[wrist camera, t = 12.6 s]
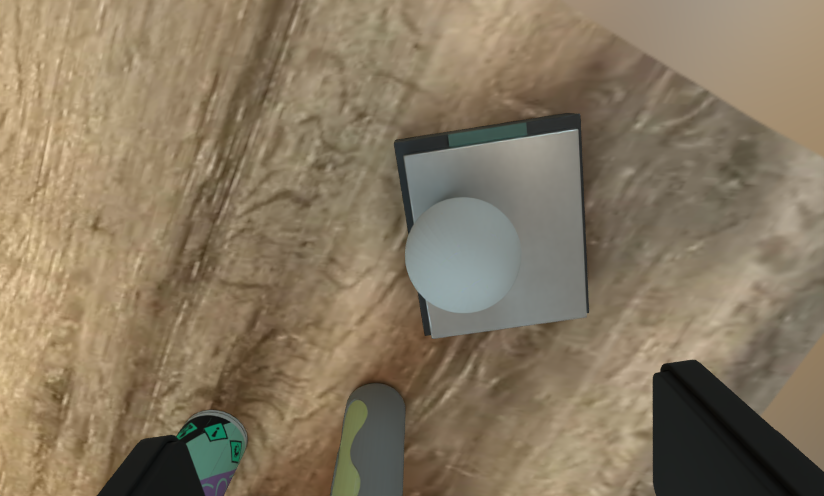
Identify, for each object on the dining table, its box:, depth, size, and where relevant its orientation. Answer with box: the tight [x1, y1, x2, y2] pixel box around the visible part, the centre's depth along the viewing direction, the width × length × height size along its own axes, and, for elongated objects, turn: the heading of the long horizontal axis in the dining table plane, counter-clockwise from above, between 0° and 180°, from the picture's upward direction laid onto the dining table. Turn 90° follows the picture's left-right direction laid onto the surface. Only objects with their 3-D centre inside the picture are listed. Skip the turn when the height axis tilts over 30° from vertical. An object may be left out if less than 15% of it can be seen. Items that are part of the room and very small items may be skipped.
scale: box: [394, 113, 589, 339], centre depth 33 cm, size 14×12×4 cm
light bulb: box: [405, 197, 521, 313], centre depth 26 cm, size 6×6×10 cm
